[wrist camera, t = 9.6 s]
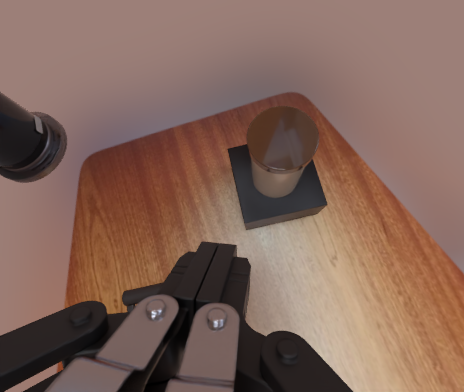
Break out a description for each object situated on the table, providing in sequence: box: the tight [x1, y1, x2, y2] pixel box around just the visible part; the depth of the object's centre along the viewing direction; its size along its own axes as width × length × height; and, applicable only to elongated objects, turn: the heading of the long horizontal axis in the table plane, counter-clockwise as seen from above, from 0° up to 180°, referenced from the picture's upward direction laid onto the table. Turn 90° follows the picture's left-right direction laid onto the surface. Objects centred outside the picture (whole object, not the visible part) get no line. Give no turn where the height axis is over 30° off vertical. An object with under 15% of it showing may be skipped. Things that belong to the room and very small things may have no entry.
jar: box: [247, 106, 319, 198], centre depth 25 cm, size 6×6×9 cm
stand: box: [228, 144, 327, 230], centre depth 32 cm, size 9×9×5 cm
